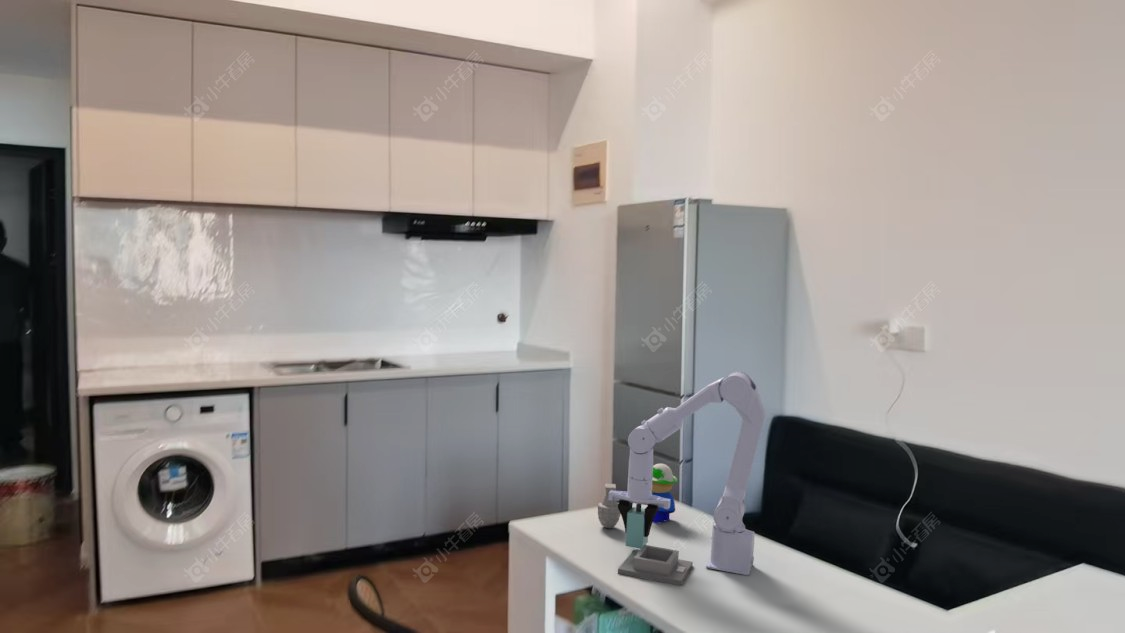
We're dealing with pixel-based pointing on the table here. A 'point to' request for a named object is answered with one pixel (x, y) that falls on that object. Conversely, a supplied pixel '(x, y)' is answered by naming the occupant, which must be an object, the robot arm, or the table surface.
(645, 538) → the plug
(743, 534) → the robot arm
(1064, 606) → the table surface
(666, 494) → the toy
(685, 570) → the socket block
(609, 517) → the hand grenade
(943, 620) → the table surface
